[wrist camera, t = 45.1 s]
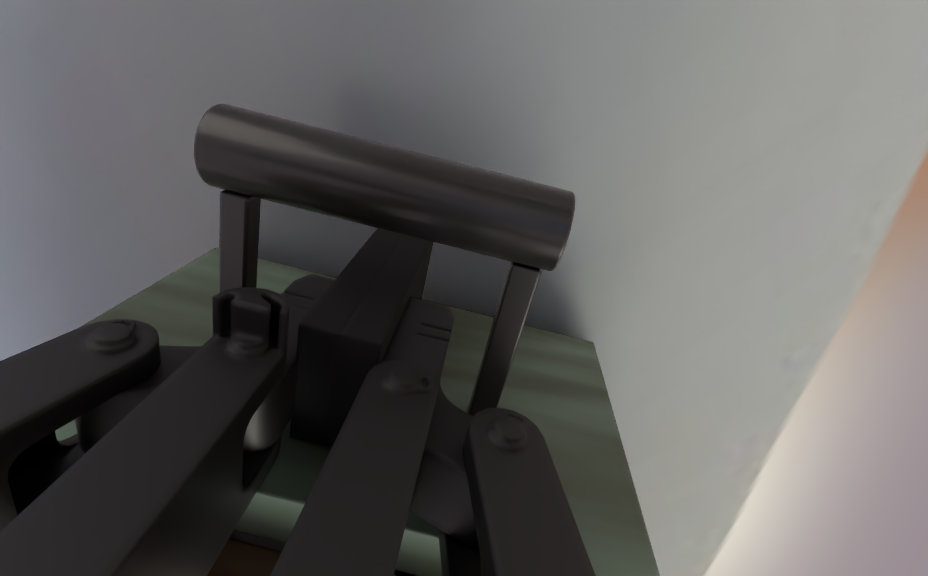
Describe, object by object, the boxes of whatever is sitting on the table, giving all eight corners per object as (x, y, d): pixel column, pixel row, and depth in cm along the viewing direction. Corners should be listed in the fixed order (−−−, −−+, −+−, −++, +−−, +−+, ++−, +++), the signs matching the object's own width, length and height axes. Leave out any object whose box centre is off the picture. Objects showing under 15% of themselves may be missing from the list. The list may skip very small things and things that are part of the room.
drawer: (216, 65, 14) (-178, 56, 6) (660, 177, 14) (848, 315, 6) (213, 529, 23) (48, 780, 15) (490, 598, 23) (476, 885, 15)
